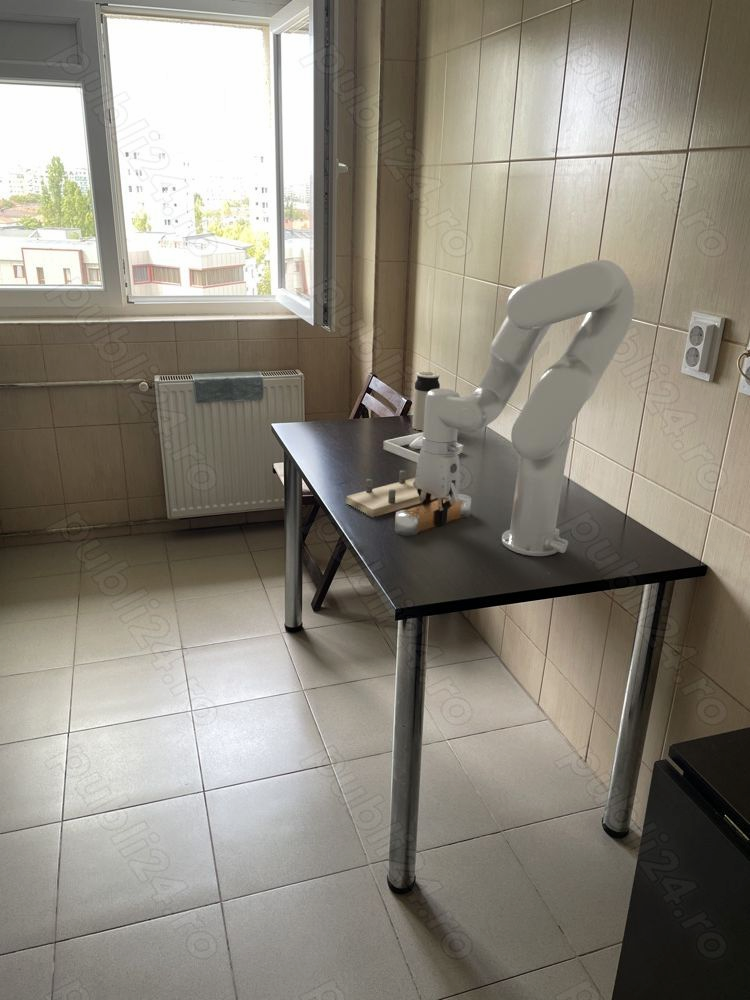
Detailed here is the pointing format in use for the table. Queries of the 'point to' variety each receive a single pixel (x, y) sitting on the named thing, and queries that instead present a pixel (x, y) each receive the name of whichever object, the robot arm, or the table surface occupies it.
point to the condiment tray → (395, 448)
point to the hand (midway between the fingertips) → (433, 520)
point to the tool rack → (386, 497)
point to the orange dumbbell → (428, 516)
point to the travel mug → (423, 396)
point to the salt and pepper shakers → (417, 443)
